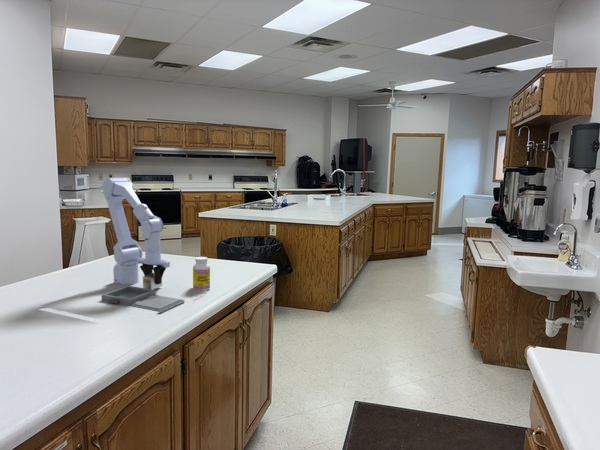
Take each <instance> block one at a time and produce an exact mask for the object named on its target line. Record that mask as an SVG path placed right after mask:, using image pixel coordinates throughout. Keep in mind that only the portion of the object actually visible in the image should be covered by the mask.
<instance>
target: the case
mask: <svg viewBox="0 0 600 450" xmlns="http://www.w3.org/2000/svg"><path fill="white" fill-rule="evenodd" d="M101 301H103V302H108V303H111V304H116V305H118V304H119V305H124V306H128V307H132V308H134V307H135V308H140V309H143V310H150V311H155V312H157V313H156V314H157V315H161V314H164V313H166V312H168V311H170V310H172V309H175V308H177V307H179V306H181V305H184V304H185V299H180V298H175V297H168V296H164V295H158V294H157V293H156V289H154V290H151V289H145V288H143V287H138V286H133V285H125V286H123V287H121V288H118V289H115V290H112V291H109V292H106V293H104V294H101Z"/></svg>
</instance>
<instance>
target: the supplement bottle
mask: <svg viewBox="0 0 600 450" xmlns="http://www.w3.org/2000/svg"><path fill="white" fill-rule="evenodd" d="M208 261H209V259H208V257H207V256H197V257H195V263H194V264H193V267H192V289H193V290H198V291H209V290H210V289H211V265H210V263H208Z"/></svg>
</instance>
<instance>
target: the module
mask: <svg viewBox="0 0 600 450" xmlns="http://www.w3.org/2000/svg"><path fill="white" fill-rule="evenodd" d="M142 286H143V287H142V288H145V289H151V290H156V289H158V288H160V287H163V280H161V284H158V285H157V284H156V282H155V274H154V272H152V273H151V274H148V275H146V276H145V275H143V276H142Z"/></svg>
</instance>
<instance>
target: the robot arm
mask: <svg viewBox="0 0 600 450" xmlns="http://www.w3.org/2000/svg"><path fill="white" fill-rule="evenodd" d="M101 188H102V192H103V196H104V199H105V201H106V203H107V207H108V210H109V214H110V217H111V221H112V226H113V228H114V232H115V235H116V239H117V242H116V244H114V246H113V247H112V249H113V258H114V261H115V262H116V263H115V264H114V267H113V270H112V271H113V283H114V284H115V283H117V284H119V285H125V286H132V285H135V284H138V283H139V282H140V280H139V279H140V278H139V276H140V275H139V269H140V270H141V271H142V273H143V276H146V275H148V274H151V273H154V274H155V282H156V284H157V285H158V284H161V280H162V279H163V276H164V273H165V271H166V269H168V268H170V267H171V262H170V261H168V260H164V259H162V255H161V252H162V251H161V248H162V247H161V233H162V231H163V229H164V223H163V220H162V218H161V217H159V216H157V215H154V213H153V212H152V211H151V209H150V208H149V207H148V205H147V204H145V203H142V202H141V201H140V198H139V197H138V195H137V194H136V192H135V190H134V183H133V182H132V180H131V179H130V178H129V177H127V176H125V177H106V178H104V180H103V182H102V184H101ZM123 200H126V201H127V203H128V204H129V205H131V207H132V208H133V210H132V213H133V215H134V216H135V218H136V219H137V220H138V221H139V223H140V230H141V232H142V237H143V238H144V255H145V257H143V250H142V248H141V247H140V244H139V242H138V241H137V240H135V239H133V238H132V235H131V232H130V228H129V225H128V220H127V217H126V214H125V210H124V206H123ZM139 264H141V265H140V266H139ZM162 281H163V280H162Z"/></svg>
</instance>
